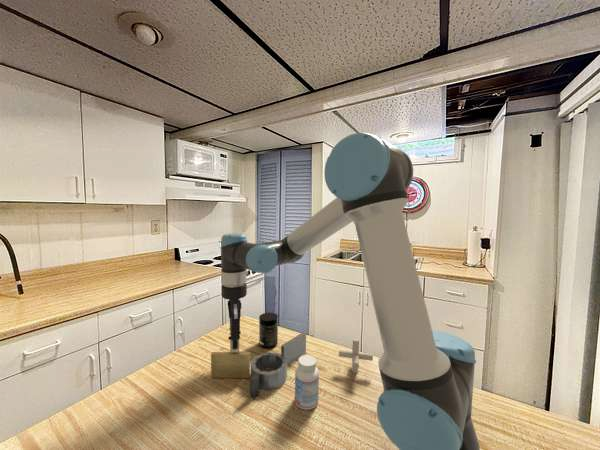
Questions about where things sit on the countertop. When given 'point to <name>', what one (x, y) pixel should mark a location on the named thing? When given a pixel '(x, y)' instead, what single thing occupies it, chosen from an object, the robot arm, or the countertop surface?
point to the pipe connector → (355, 355)
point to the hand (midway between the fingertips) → (234, 356)
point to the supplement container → (268, 330)
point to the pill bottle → (306, 383)
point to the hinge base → (275, 365)
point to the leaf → (230, 365)
